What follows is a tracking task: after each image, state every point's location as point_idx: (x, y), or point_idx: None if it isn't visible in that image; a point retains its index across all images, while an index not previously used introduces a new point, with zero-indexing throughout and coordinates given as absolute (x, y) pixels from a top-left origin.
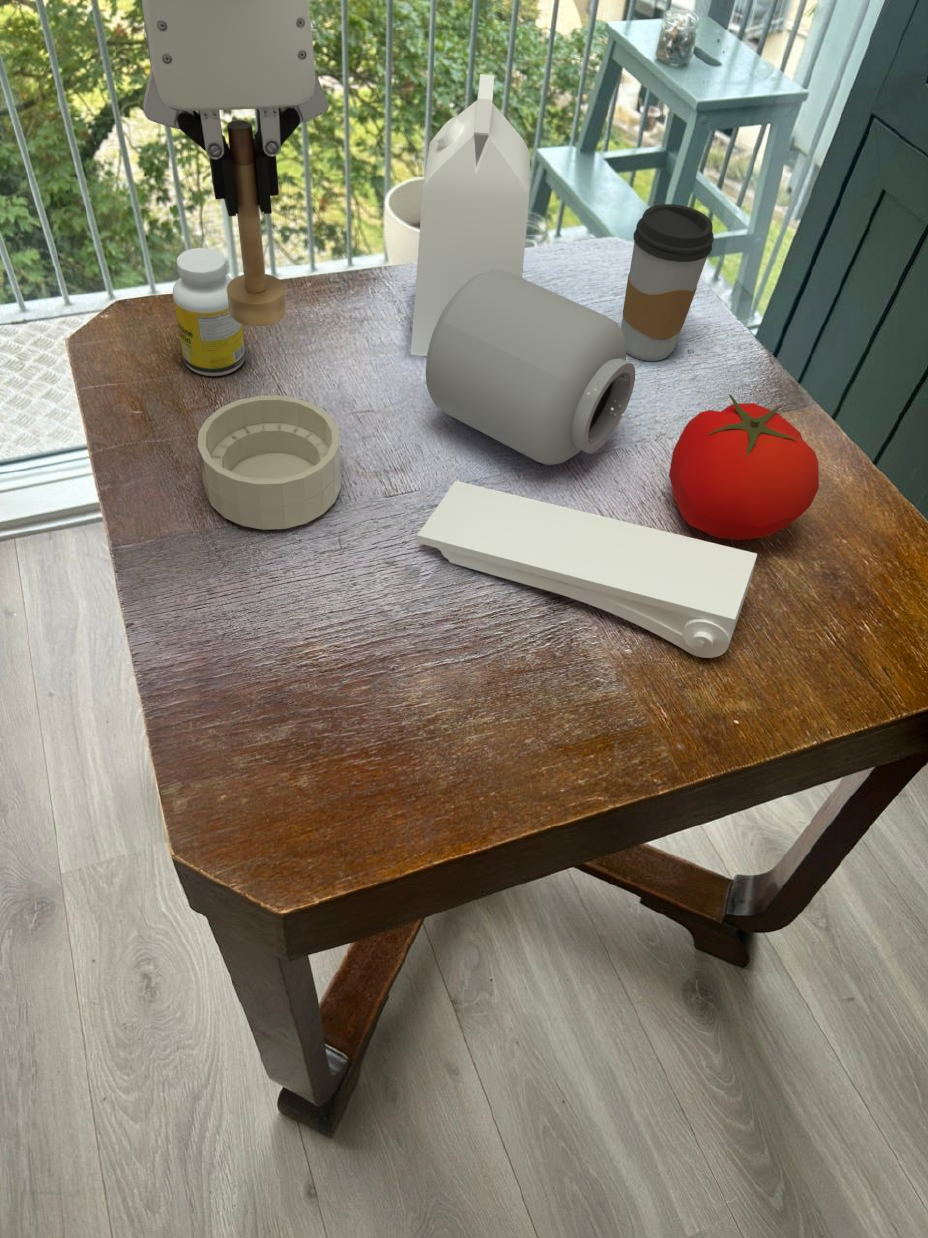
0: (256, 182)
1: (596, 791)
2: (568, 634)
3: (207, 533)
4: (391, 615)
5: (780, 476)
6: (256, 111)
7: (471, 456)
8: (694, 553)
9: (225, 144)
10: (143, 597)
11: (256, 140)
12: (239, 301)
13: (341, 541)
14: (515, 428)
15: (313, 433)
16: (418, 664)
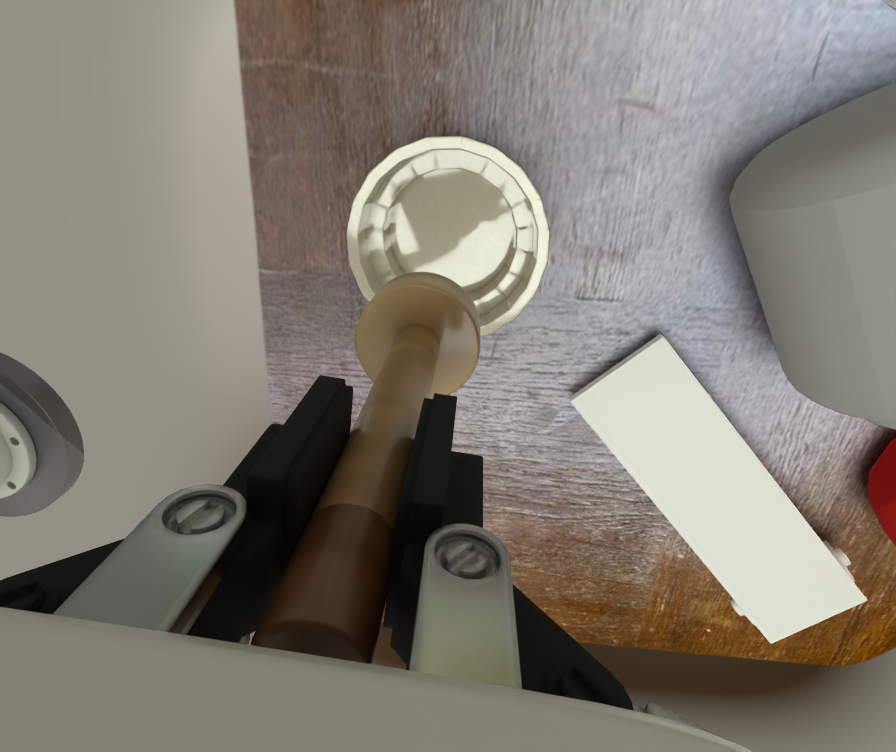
0: None
1: (569, 632)
2: (644, 525)
3: (356, 283)
4: (502, 453)
5: None
6: (410, 658)
7: (724, 263)
8: (812, 569)
9: (254, 628)
10: (278, 350)
11: (397, 613)
12: (372, 380)
13: (496, 347)
14: (781, 356)
15: (524, 201)
16: (501, 506)
